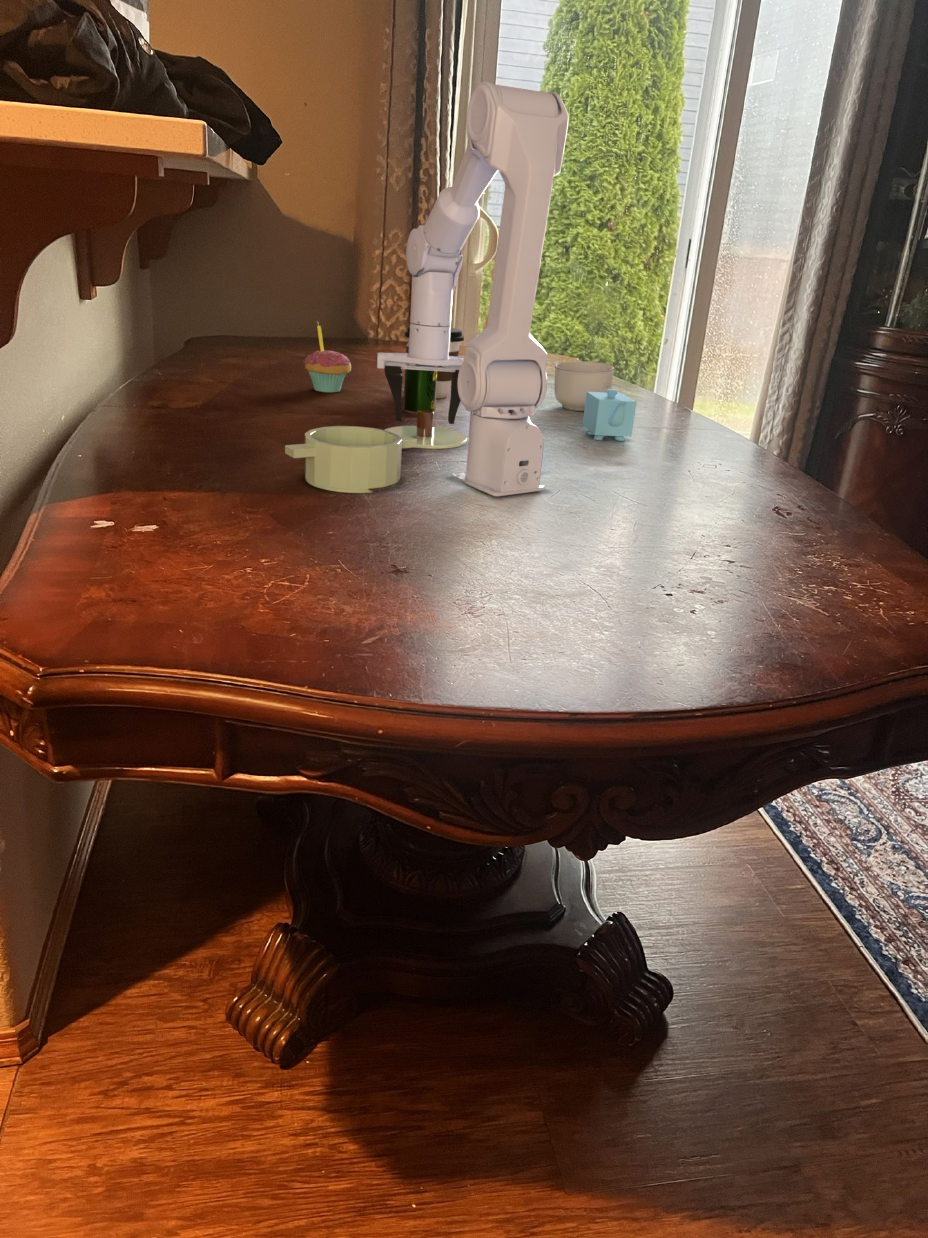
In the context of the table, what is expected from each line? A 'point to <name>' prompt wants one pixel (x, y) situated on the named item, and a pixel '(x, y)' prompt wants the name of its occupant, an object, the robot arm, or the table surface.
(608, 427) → the teapot
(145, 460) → the table surface
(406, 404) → the beer can
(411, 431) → the pale green pot lid
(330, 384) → the cupcake
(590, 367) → the teacup
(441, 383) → the coffee cup
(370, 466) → the pale green cooking pot
